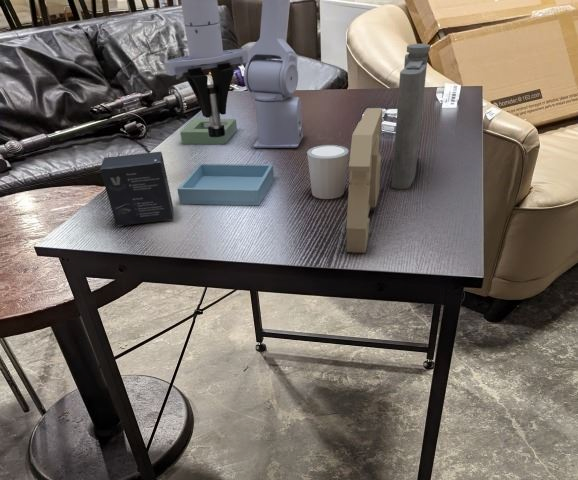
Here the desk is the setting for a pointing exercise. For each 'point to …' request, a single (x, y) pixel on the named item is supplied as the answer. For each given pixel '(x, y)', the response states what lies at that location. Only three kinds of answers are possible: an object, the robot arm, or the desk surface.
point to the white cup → (327, 170)
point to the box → (137, 188)
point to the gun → (363, 178)
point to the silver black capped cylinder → (214, 114)
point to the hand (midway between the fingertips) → (214, 114)
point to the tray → (226, 184)
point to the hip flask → (409, 115)
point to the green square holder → (206, 132)
